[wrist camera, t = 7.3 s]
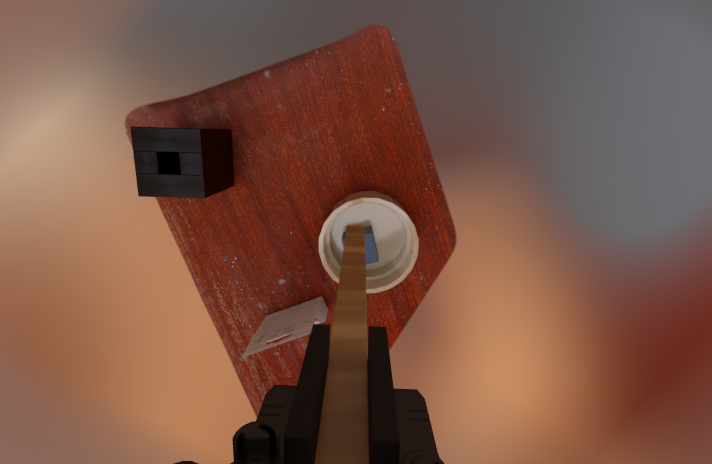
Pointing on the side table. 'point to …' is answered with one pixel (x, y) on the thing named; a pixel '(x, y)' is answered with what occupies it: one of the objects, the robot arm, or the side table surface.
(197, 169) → the stand
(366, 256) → the block
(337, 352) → the stick
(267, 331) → the ink box
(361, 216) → the bowl
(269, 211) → the side table surface
